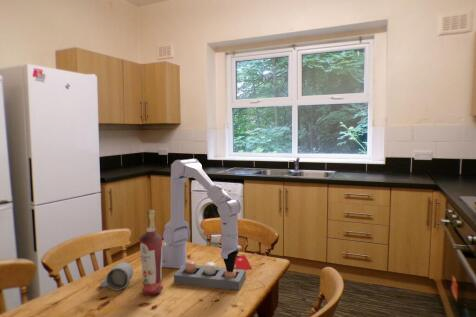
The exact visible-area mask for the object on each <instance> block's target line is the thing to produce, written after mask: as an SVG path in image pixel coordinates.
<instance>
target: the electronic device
mask: <svg viewBox="0 0 476 317" xmlns="http://www.w3.org/2000/svg"><path fill="white" fill-rule="evenodd" d="M235 269H241V270H246V271H247V270H253V267H252V266H251V263H250V262H249V260H248V259H247V256H246V255H237V257H236V261H235Z"/></svg>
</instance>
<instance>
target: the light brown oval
mask: <svg viewBox="0 0 476 317" xmlns="http://www.w3.org/2000/svg"><path fill="white" fill-rule="evenodd" d="M225 277H227V278H236V270H233V272H227V270H225Z"/></svg>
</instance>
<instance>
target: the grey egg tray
mask: <svg viewBox="0 0 476 317" xmlns="http://www.w3.org/2000/svg"><path fill="white" fill-rule="evenodd" d="M225 270H226V267H219V266H218V267H217V266H216V273H215V274H212V275H207V274H205V265H197V264H196V271H195V272H193V273H187V272H186V271H185V265H184V266H183V267H182V268H181V269H180V268H179V269H178V270H177V271H176V272H175V273H174V274H173V283H174V284H178V285H187V286H189V285H190V286H195V287H196V286H197V287H204V288H205V287H206V288H215V289H224V290H233V291H240V289H241V287H242V286H243V284H244V282H245V280H246V278H247V275H246V272H247V270H241V269H237V268H234V270H236V278H227V277H225Z"/></svg>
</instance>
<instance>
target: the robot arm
mask: <svg viewBox="0 0 476 317" xmlns="http://www.w3.org/2000/svg"><path fill="white" fill-rule="evenodd" d="M189 178H193V179H195V181H196V182H197V183H198V184H200V185H201V187H203V188H204V189H205V191H207V192H206V196H207V197H208V198H209V199H210V200H211V201H212V203H213V204H214V205H215V207H217V213H218V215H219V217H220V218H219V219H220V222H221V247H220V248H221V252H220V256H221V258H220V259H222V260H223V262H224V265H225V268H226V270H227V272H233V270H234V269H235V267H236V265H235V261H236V257H237V256H239V255H238V254H239V251H240V250H241V249H242V246H241V245H239V233H238V232H239V230H238V228H239V227H238V226H239V224H238V223H239V222H238V218H239V217H238V214H240V213H241V210H242V209H241V207H242V205H241V204H240V202H239V200H238V199H237V198H233V197H232V196H230V195H229V194H228V193H227V192H226V190H224V189H223V186H222V185H219V184H215V183H214V182H213V181H212V180H211V178H210V177H209V176H208V174H207V173H206V172H205V171H204V169H203V167H202V164H201V163H200V161H199V160H198V159H197V158H188V159H176V160H174V161H173V162H172V163H171V164H170V220H169V221H168V222H167V223H166V224H165V225H164V232H163V235H162V239H163V241H164V243H162V268H170V269H171V268H172V269H179V270H180V269H181V268H182V267H183V266H184V265H185V262H187V261H191V260H189V259H187V242H188V239H189V238H190V236H191V230H190V227H189V222H188V221H186V220H185V182H186V181H187V180H188V179H189Z"/></svg>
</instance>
